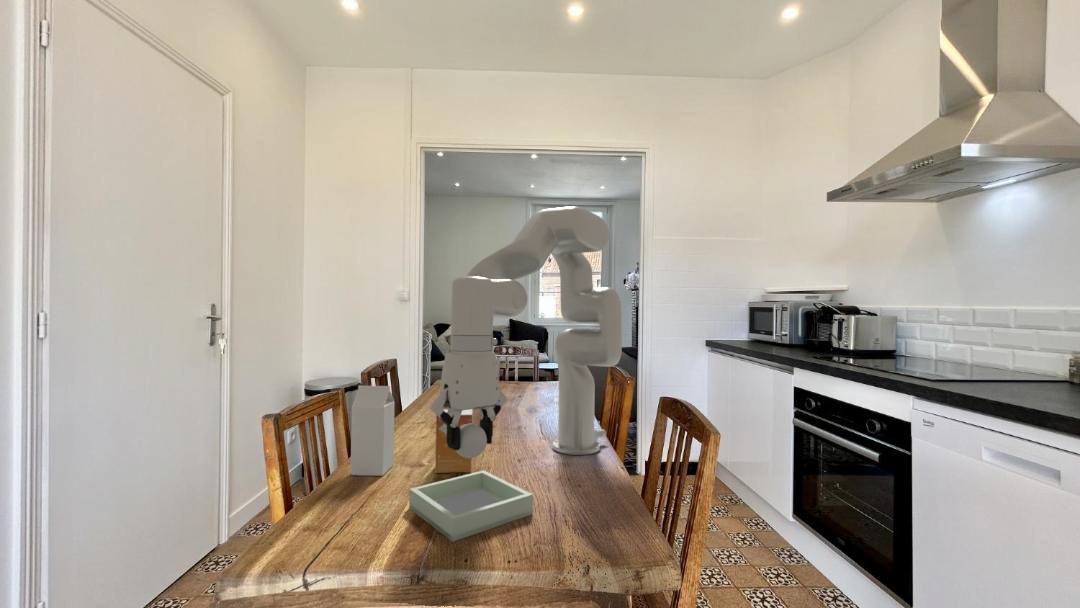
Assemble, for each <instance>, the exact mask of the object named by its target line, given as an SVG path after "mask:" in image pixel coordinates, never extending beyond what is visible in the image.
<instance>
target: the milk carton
mask: <svg viewBox="0 0 1080 608" xmlns="http://www.w3.org/2000/svg"><path fill="white" fill-rule="evenodd" d="M390 389H391V387H390V385H358V389H357V393H356V395H355V398H354V401H353V403H352V405H351V426H350V427H351V438H350V439H351V443H350V475H351V476H373V477H374V476H377V477H379V476H384V475H385V474H386V473H388V471H389V470H390V469H391V468H392V467H394V465H395V464H394V463H395V459H394V458H395V399H394V397H393V395H392V393H391V390H390Z"/></svg>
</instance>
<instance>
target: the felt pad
mask: <svg viewBox="0 0 1080 608" xmlns="http://www.w3.org/2000/svg"><path fill="white" fill-rule="evenodd" d="M497 502H499V501H498V500H496V499H494V498H492V497H491V496H489V495H487V494H485V493H483V492H482V491H480V490H477V491H474V492H470V493H467V494H463V495H460V496H456V497H452V498H449V499H445V500H442V501H438V502H436V503H438V504H439V505H441V506H442V507H444V508H445V509H447V510H448V511H450V512H451V513H452V514H454V515H458V514H462V513H465V512H468V511H471V510H475V509H478V508H481V507H484V506H488V505H491V504H494V503H497Z"/></svg>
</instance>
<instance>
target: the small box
mask: <svg viewBox="0 0 1080 608" xmlns="http://www.w3.org/2000/svg"><path fill="white" fill-rule="evenodd" d="M443 410H444V411H445V412H446V413H447V411H448V409H443ZM473 410H474V409H470V410H462V413H461V416H460V419H459V422H458V424H457V426H458V427H461V426H463V425H465V424H473V418H474V417H473V413H474V412H473ZM435 417H436V421H435V462H434V464H435V467H434V468H435V469H434V471H435V474H439V473H443V474H444V473H445V474H446V473H472V461H473V458H465V457H462V456H460V455H459V454H458V453H457V452H456V450H454V449H451V448H449V447H448V444H447V425H445V424H444V422H443V421H442V420H441V419H440V418H439V417H438V416H437V415H436V416H435Z"/></svg>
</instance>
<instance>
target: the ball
mask: <svg viewBox="0 0 1080 608" xmlns="http://www.w3.org/2000/svg"><path fill="white" fill-rule="evenodd" d="M486 447H487V437H486V433H485V431H484V430H483V429H482V428H481V427H480V425H478V424H476V423H472V424H465V425H463V426H461V427H460V449H459V450H456V452H457V453H458V454H459V455H460V456H462V457H465V458H472V459H473V458H474V459H475V458H477V457H479V456H480V455H481V454H482V453H483V452H484V450H485V449H486Z"/></svg>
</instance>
